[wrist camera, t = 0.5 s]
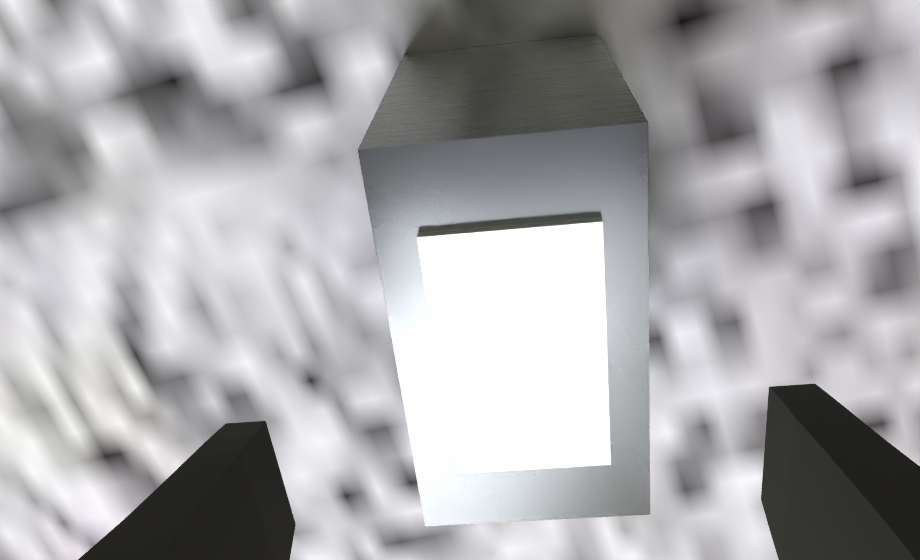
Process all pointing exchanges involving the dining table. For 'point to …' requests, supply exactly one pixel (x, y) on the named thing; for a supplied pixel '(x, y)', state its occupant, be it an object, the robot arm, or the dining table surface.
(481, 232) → the block
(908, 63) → the dining table surface
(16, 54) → the dining table surface
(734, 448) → the dining table surface
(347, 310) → the dining table surface
